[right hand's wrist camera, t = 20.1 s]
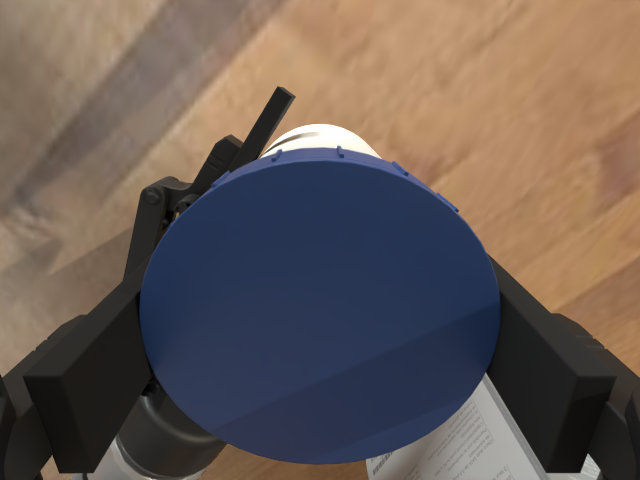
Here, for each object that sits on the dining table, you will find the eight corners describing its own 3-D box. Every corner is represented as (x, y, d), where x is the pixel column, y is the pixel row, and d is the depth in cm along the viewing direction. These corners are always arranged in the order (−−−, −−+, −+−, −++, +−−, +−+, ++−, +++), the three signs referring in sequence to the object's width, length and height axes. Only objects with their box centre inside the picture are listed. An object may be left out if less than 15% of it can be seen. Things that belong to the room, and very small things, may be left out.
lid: (185, 410, 14) (162, 464, 12) (145, 140, 10) (101, 151, 8) (445, 414, 14) (467, 468, 12) (498, 148, 10) (543, 162, 8)
